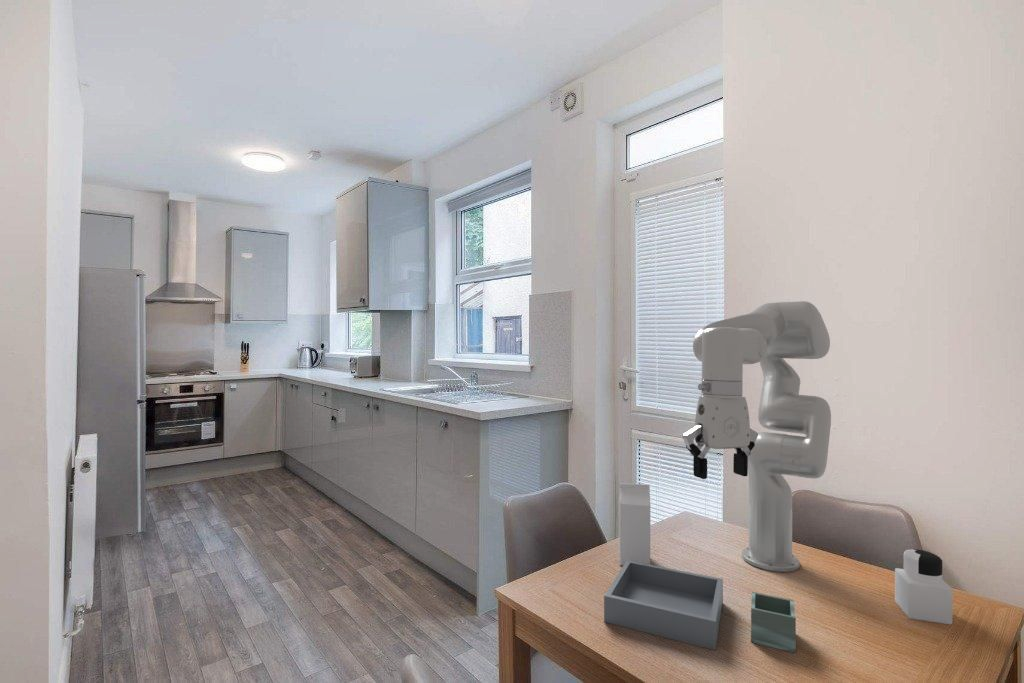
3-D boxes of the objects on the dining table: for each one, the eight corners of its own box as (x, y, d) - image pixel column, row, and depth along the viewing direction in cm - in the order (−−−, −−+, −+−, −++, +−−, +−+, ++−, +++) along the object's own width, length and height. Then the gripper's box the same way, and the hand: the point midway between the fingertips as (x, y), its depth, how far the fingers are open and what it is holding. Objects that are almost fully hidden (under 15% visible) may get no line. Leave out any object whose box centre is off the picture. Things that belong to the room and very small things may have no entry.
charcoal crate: (626, 582, 113) (626, 560, 113) (722, 603, 105) (723, 578, 105) (604, 621, 97) (604, 595, 97) (715, 650, 88) (715, 621, 88)
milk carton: (650, 568, 120) (650, 488, 120) (619, 565, 122) (620, 487, 122) (648, 556, 127) (648, 480, 127) (619, 553, 129) (619, 479, 129)
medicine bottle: (935, 607, 103) (936, 548, 103) (953, 625, 97) (953, 563, 97) (894, 601, 106) (894, 543, 106) (908, 618, 99) (908, 557, 99)
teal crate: (751, 622, 97) (751, 591, 97) (793, 632, 94) (793, 600, 94) (751, 642, 91) (751, 608, 91) (795, 652, 88) (795, 618, 88)
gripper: (697, 391, 94) (696, 483, 94) (771, 390, 99) (770, 478, 99) (673, 388, 101) (671, 474, 101) (742, 388, 107) (741, 469, 106)
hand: (720, 476), depth 100 cm, fingers open, 9 cm apart
